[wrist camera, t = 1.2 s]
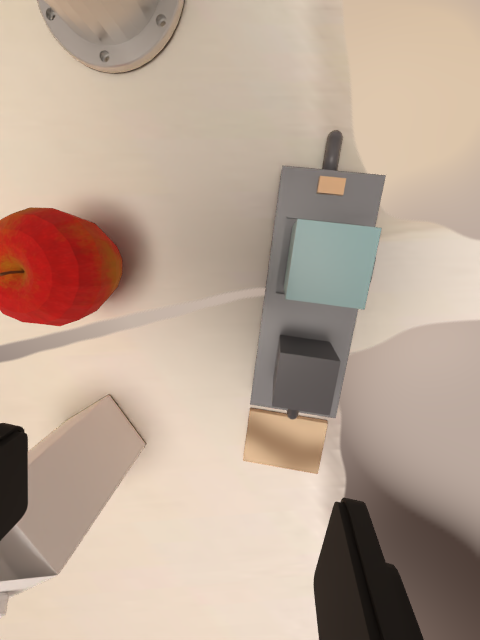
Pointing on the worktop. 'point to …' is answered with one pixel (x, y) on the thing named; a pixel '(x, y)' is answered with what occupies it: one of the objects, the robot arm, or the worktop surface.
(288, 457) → the cork pad
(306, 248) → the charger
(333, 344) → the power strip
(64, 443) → the milk carton
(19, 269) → the apple
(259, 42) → the worktop surface
